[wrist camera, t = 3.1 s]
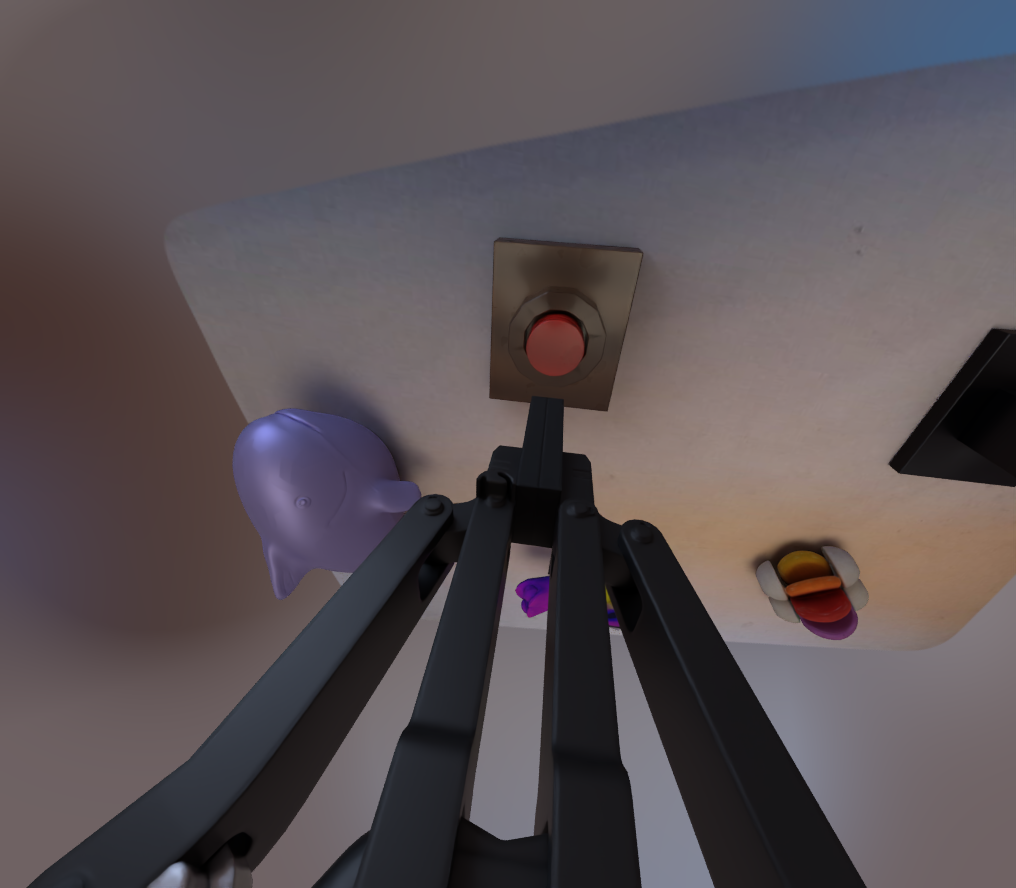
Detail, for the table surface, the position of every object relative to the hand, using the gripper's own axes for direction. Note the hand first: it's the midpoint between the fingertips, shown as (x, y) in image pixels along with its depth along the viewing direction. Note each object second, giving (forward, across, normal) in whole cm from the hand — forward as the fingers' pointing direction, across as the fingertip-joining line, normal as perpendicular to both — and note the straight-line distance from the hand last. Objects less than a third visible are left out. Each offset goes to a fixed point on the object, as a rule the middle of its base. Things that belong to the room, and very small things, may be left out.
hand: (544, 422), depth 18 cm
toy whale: (+16, -17, -18) cm, 29 cm away
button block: (+15, 0, 0) cm, 15 cm away
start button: (+12, 0, 0) cm, 12 cm away
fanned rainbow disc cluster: (+15, +30, -23) cm, 41 cm away
